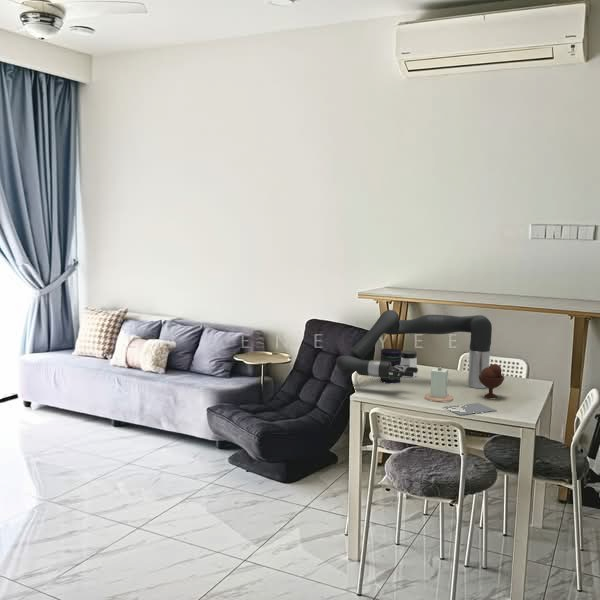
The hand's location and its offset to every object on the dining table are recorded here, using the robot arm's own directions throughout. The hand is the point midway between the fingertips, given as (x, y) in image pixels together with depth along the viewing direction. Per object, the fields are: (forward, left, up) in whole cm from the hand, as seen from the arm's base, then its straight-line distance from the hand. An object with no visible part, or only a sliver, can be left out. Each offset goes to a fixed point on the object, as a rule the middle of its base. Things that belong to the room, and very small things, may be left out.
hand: (415, 372), depth 298 cm
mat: (-10, +27, -11) cm, 30 cm away
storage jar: (-4, -27, -11) cm, 30 cm away
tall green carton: (-7, +7, -10) cm, 14 cm away
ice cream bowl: (-31, +14, -11) cm, 35 cm away
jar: (-18, -34, -11) cm, 40 cm away
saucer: (-8, +8, -11) cm, 15 cm away
